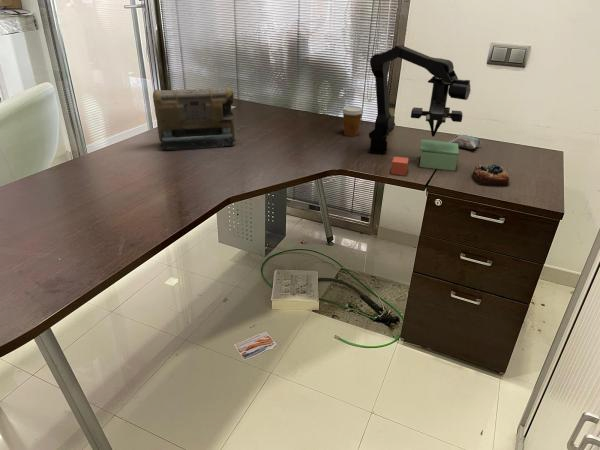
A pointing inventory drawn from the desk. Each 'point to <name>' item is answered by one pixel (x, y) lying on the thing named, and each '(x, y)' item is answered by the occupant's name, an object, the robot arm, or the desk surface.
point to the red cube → (399, 166)
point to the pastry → (490, 175)
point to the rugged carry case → (194, 118)
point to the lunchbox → (438, 160)
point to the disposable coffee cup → (352, 120)
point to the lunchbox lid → (439, 147)
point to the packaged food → (466, 141)
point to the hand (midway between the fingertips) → (433, 136)
